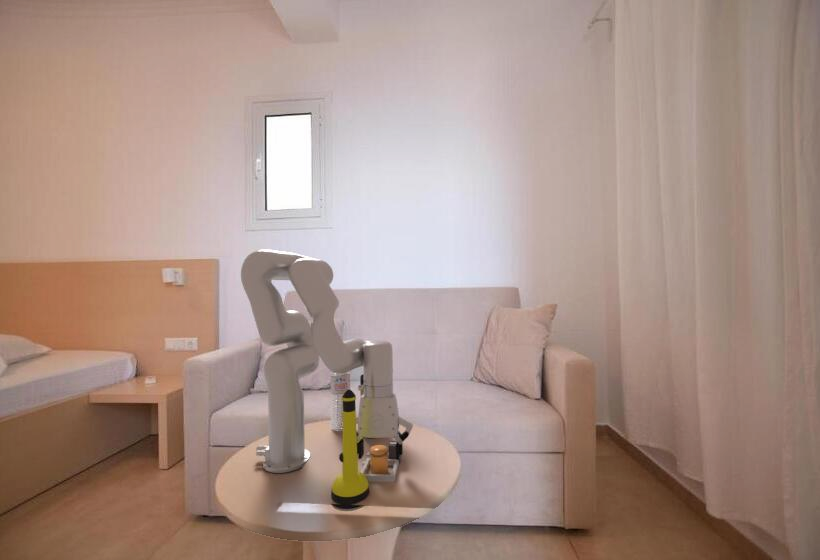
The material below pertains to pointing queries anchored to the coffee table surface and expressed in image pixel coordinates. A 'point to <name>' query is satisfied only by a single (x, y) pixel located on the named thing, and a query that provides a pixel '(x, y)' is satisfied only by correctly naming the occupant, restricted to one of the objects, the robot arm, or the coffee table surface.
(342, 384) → the water bottle
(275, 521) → the coffee table surface
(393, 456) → the breaker toggle
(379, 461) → the cap
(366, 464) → the board
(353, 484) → the flashlight
